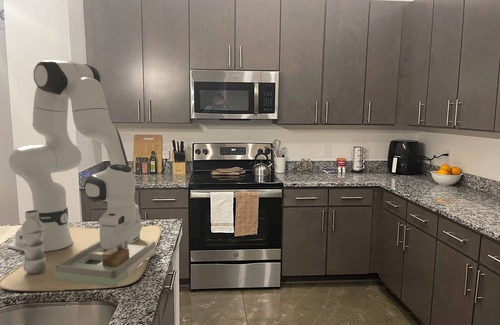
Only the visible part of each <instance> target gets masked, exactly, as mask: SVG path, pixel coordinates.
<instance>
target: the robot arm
mask: <svg viewBox="0 0 500 325" xmlns="http://www.w3.org/2000/svg"><path fill="white" fill-rule="evenodd" d="M33 80H34V83H35V85H36V90H35V92H34V98H33V109H32V110H33V112H32V124H31V125H32V127H33V129H34V131H35V132H37V133H38V134H39V135H41V136H43V137H44V138H45V139H44V140H45V144H36V145H35V144H33V145H25V146H21V147H19V148H15V149H13V150H12V151H11V152H10V155H9V156H8V163H9V164H8V165H9V167H10V169H11V171H12V172H13V173H14V174H15V175H17V176H18V177H20V178H21V179H23V180H24V181H25V183H27V185H28V186H29V189H30V191H31V196H32V204H33V205H32V206H33V207H32V208H33V210H37V211H38V214H39V217H38V219H39V220H40V221H41V222H42V223H43V225H44V236H43V247H44V253H45V252H52V251H58V250H62V249H64V248H68V247H70V246H71V245H72V244H73V243H74V240H73V238H72V236H71V231H70V227H69V223H68V222H69V221H68V220H69V209H68V207H67V195H66V192H67V191H66V189H65V187H64V186H63V185H62V184H60V183H58V182H55V181H54V180H53V178H52V174H56V173H61V172H62V173H63V172H67V171H70V170H73V169H76V168H77V167H79V165H81V164H80V163H81V162H82V152H81V150H80V149H79V147H78V146H77V145H75V144H74V143H73V141H72V140H71V139H70V138H71V137H70V136H69V132H68V113H69V112H68V110H69V99H70V102H71V105H70V106H71V112H72V119H73V123H74V125H75V128H76V130H77V131H78V132H79V133H80V134H81V135H83V136H84V137H86V138H89V139H91V140H94V141H97V142H98V143H101V145H103V146H104V147H105V149H106V153H107V156H108V159H109V163H110V165H108V167H107V168H106V169H105V170H103V171H100V172H97V173H94V174H91V175H89V176H87V177H86V179H85V181H84V182H83V183H84V184H83V191H84V192H83V193H84V195H85V197H86V198H87V199H88V200H90V201H91V202H94V203H95V202H97V203H101V202H107V209H106V210H105V211H104V213H103V214H102V215H100V217H99V218H98V225H100V227H99V241H100V245H101V247H102V249H106V250H112V249H114V248H115V247H117V248H124V249H128V244H130V243H129V238H131V237H132V236H134V235H136V234H137V233H139V232H141V231H142V219H141V214H140V212H139V213H138V209H137V208H136V205H137V204H136V201H135V193H136V180H135V174H134V171H133V169H132V168H131V167H130V165H129V162H128V158H127V155H126V152H125V149H124V148H125V147H124V144H123V141H122V138H121V135H120V133H119V130H118V129H117V127H116V126H114V124H113V122H112V120H111V117H110V115H109V109H108V105H107V99H106V96H105V93H104V90H103V89H104V88H103V87H102V85H101V74H100V73H99V70H98V69H97V68H96V67H94V66H92V65H90V64H87V63H79V62H76V61H71V60H69V61H63V60H52V59H50V60H49V59H48V60H47V59H46V60H42V61H39V62H37V63H36V66H35V67H34V70H33ZM135 204H136V205H135ZM21 227H22V226H20V227H19V228H18V229H17V230H16V232H15V240H13V241H12V242H10V243H9V244H8V247H7V248H9V249H13V250H17V251H21V252H25V248H24V241H23V236H22V232H21Z"/></svg>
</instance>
